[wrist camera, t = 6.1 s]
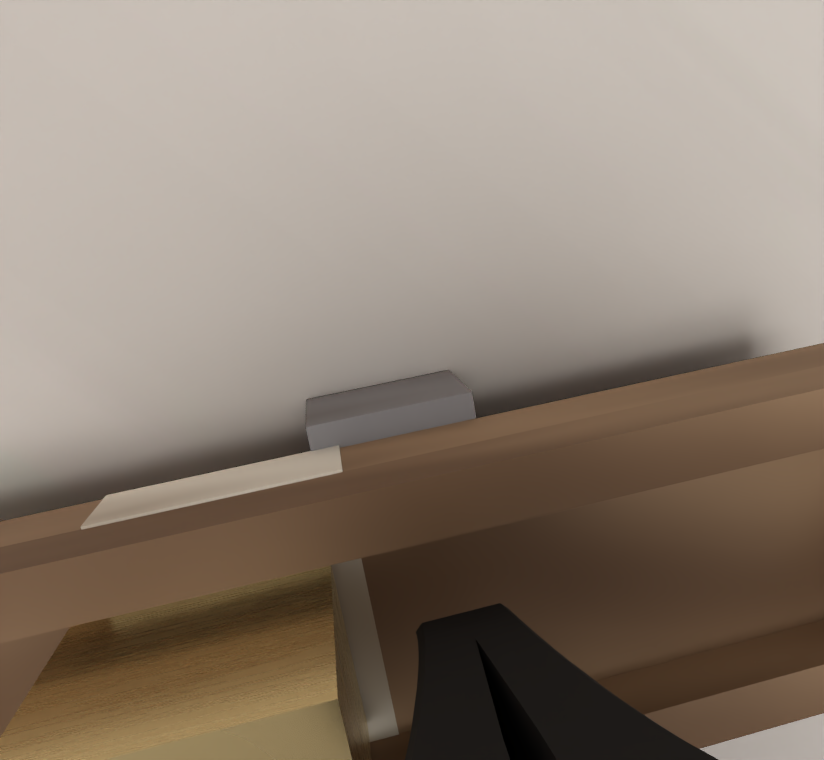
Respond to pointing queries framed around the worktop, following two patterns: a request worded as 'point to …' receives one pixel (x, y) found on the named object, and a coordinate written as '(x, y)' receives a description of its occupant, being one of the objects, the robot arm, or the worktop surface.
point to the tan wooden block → (202, 682)
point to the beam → (495, 540)
